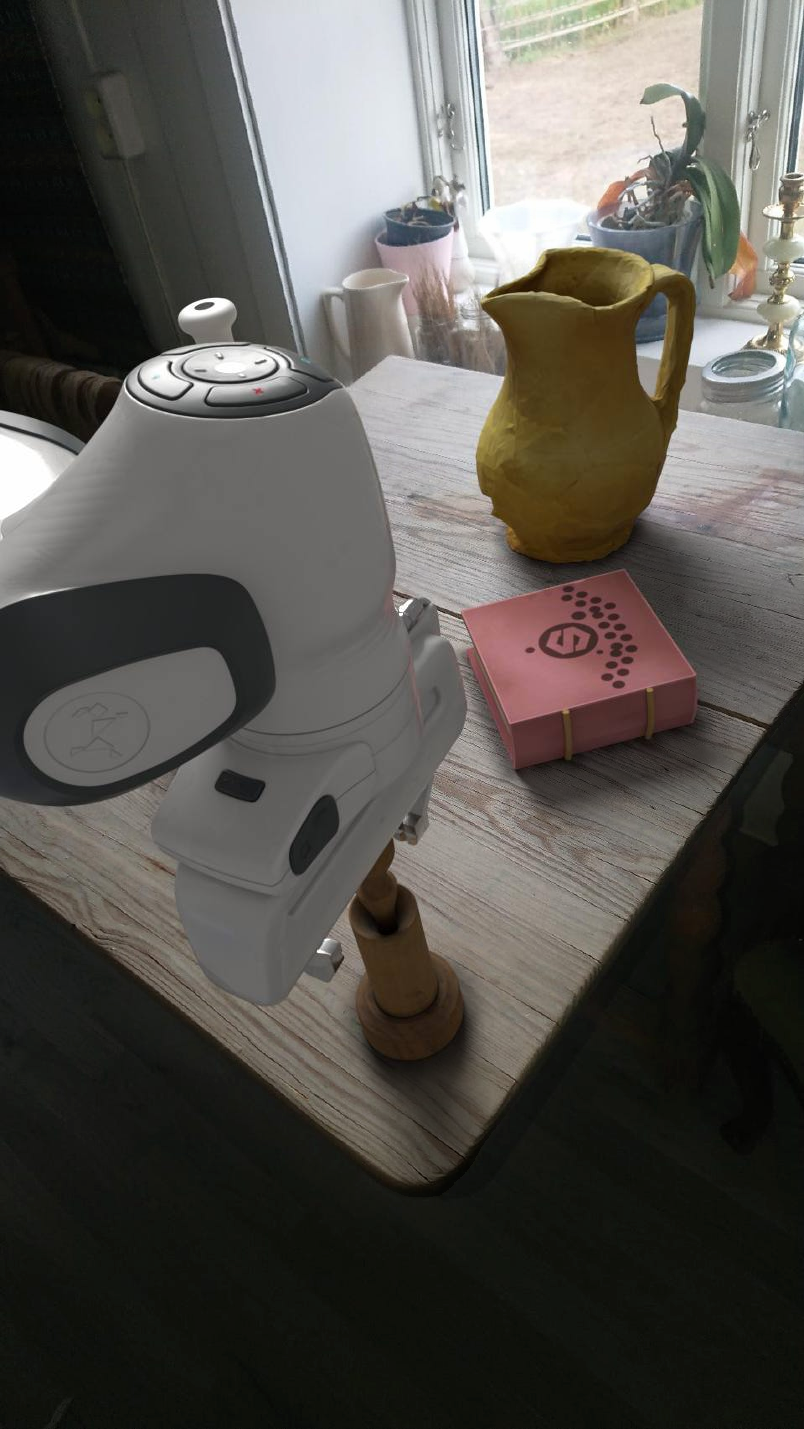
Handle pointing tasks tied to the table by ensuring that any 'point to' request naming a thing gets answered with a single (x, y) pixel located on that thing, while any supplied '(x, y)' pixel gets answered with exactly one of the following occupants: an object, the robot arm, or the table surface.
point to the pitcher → (581, 401)
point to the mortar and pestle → (400, 971)
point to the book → (578, 668)
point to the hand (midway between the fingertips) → (369, 897)
